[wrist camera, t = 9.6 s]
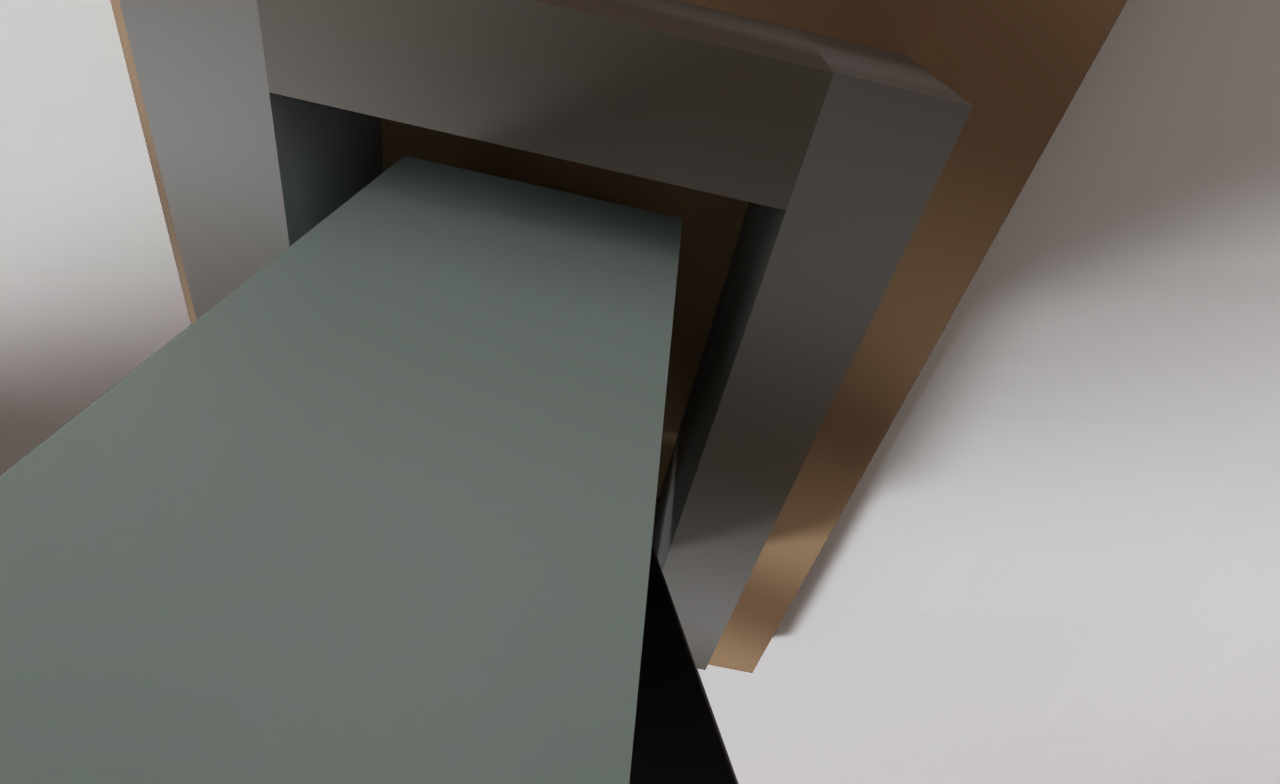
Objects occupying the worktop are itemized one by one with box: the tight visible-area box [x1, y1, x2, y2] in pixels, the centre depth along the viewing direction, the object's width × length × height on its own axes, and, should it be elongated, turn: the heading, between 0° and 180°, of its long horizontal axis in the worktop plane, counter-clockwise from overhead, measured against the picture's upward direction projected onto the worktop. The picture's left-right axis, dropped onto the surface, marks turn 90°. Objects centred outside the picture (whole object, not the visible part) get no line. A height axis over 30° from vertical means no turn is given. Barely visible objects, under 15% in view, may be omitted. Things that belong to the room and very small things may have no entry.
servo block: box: [0, 156, 682, 784], centre depth 7 cm, size 6×4×10 cm, turn 169°
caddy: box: [110, 0, 1127, 673], centre depth 11 cm, size 20×14×4 cm
